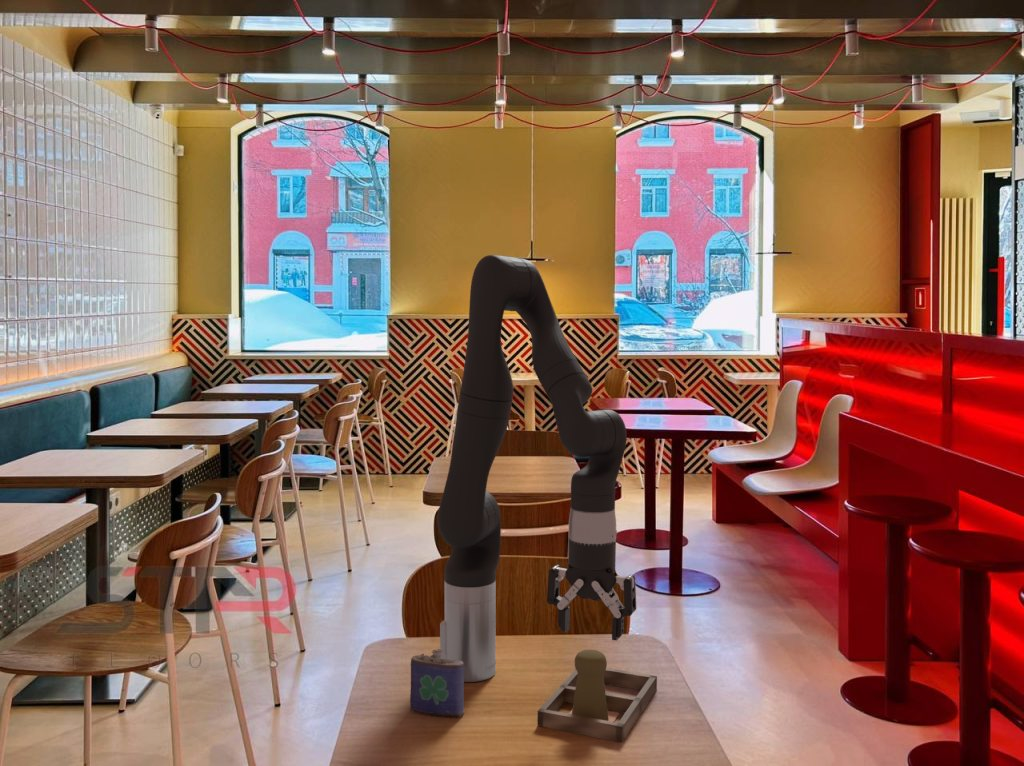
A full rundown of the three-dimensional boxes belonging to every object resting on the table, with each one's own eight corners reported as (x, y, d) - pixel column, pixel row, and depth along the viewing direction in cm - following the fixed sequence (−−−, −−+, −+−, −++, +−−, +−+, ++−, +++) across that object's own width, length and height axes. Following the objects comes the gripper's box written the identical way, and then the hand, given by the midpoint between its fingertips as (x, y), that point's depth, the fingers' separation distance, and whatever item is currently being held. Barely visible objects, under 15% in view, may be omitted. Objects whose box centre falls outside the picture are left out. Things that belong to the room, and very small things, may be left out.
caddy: (537, 725, 153) (537, 710, 153) (580, 677, 172) (580, 663, 172) (622, 742, 148) (622, 726, 147) (656, 690, 167) (656, 676, 167)
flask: (466, 712, 158) (465, 649, 157) (460, 720, 155) (460, 656, 154) (413, 705, 160) (413, 643, 159) (407, 713, 158) (406, 650, 157)
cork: (606, 728, 152) (607, 661, 151) (568, 724, 153) (569, 657, 152) (610, 711, 158) (611, 647, 157) (574, 708, 159) (574, 644, 158)
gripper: (541, 536, 152) (540, 635, 153) (629, 546, 146) (626, 649, 148) (558, 525, 159) (557, 621, 160) (642, 535, 153) (640, 633, 155)
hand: (590, 634), depth 154 cm, fingers open, 8 cm apart
